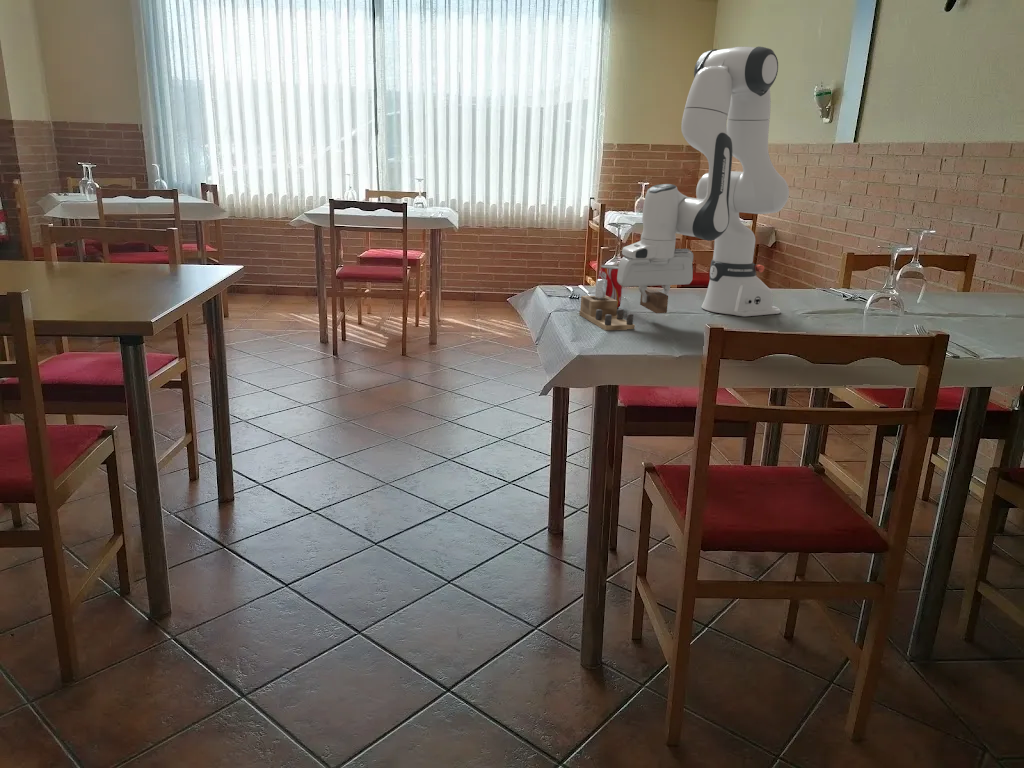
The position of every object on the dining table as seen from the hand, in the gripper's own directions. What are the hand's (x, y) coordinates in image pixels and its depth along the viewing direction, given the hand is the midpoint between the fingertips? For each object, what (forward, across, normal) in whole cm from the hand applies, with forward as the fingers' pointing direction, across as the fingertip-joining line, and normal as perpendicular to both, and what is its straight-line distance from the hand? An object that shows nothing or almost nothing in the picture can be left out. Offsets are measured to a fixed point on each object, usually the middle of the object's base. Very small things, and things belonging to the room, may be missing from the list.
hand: (653, 301), depth 205 cm
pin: (+4, +12, -7) cm, 15 cm away
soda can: (+6, +5, -19) cm, 20 cm away
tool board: (+5, +12, -2) cm, 14 cm away
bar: (+2, 0, 0) cm, 2 cm away
